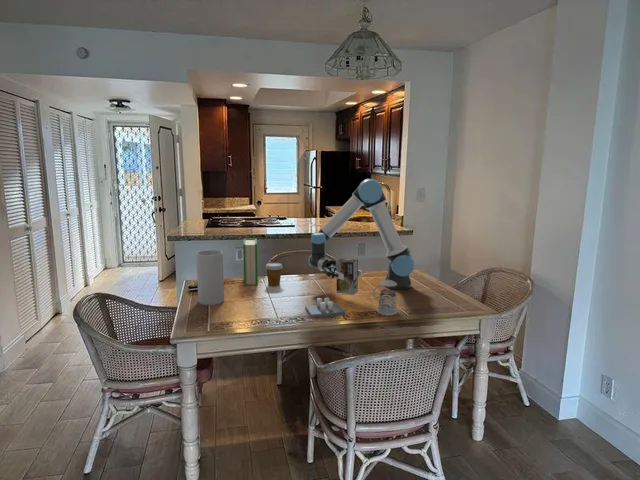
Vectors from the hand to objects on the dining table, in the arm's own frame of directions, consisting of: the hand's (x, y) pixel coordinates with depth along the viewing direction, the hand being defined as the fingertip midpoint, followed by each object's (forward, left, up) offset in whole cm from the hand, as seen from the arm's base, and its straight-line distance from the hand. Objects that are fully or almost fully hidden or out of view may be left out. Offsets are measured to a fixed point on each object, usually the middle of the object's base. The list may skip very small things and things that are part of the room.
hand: (352, 275), depth 200 cm
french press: (-14, +8, -17) cm, 23 cm away
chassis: (+14, +2, -16) cm, 21 cm away
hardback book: (+42, -57, -17) cm, 73 cm away
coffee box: (+1, -4, -10) cm, 11 cm away
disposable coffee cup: (+30, -47, -17) cm, 58 cm away
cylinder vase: (+65, -25, -17) cm, 71 cm away
